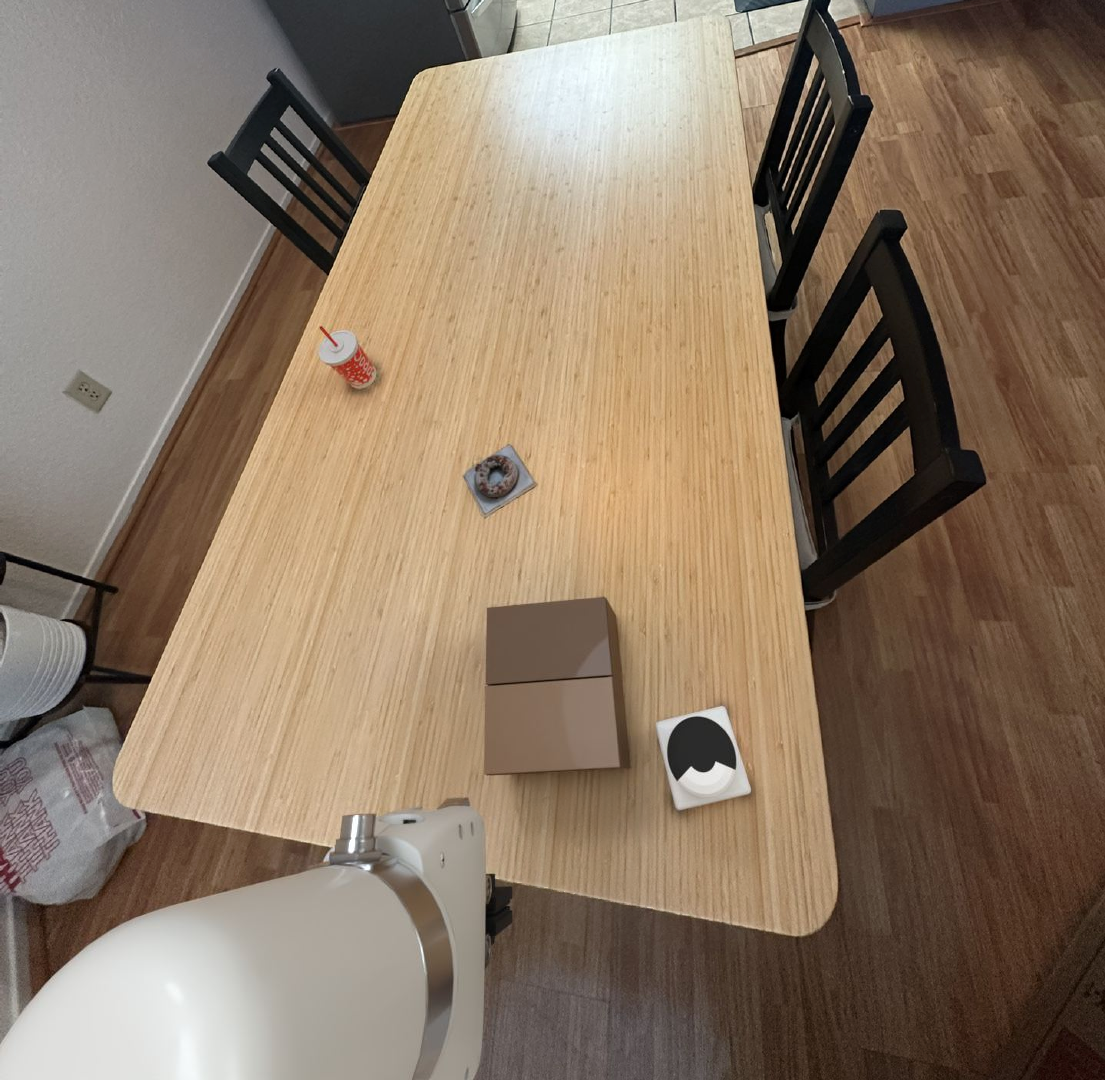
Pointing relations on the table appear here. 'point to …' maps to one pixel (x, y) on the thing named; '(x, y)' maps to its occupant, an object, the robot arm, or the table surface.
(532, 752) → the front flap
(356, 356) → the beverage cup
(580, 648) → the carton
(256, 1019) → the robot arm
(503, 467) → the donut
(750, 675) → the table surface
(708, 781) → the medicine bottle
